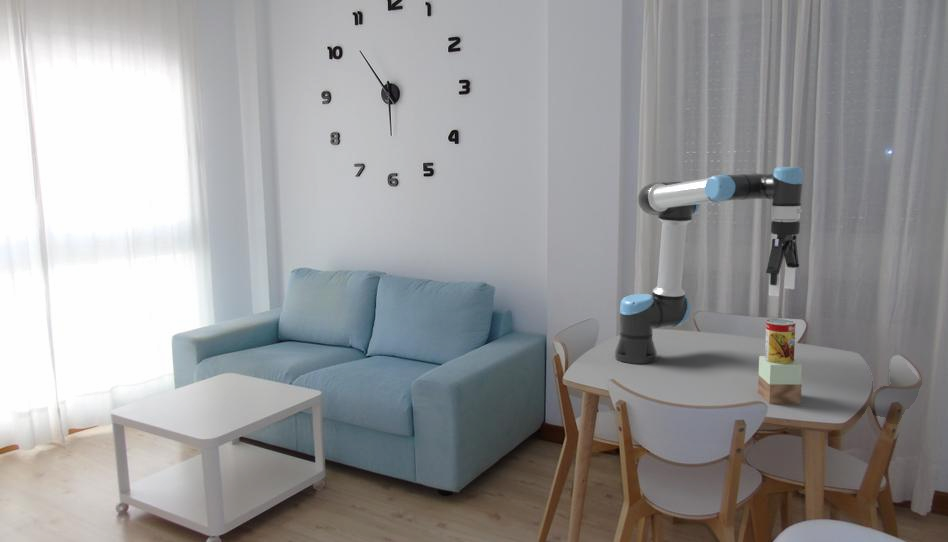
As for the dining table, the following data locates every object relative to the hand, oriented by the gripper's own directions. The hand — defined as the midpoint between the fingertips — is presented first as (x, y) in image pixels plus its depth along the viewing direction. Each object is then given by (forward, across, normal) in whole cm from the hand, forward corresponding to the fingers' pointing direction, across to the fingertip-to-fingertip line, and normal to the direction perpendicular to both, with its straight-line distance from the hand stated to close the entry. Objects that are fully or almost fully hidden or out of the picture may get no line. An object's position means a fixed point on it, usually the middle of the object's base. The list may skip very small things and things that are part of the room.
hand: (781, 292), depth 190 cm
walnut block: (+33, 0, -1) cm, 33 cm away
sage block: (+27, 0, -1) cm, 27 cm away
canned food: (+21, 0, 0) cm, 21 cm away
